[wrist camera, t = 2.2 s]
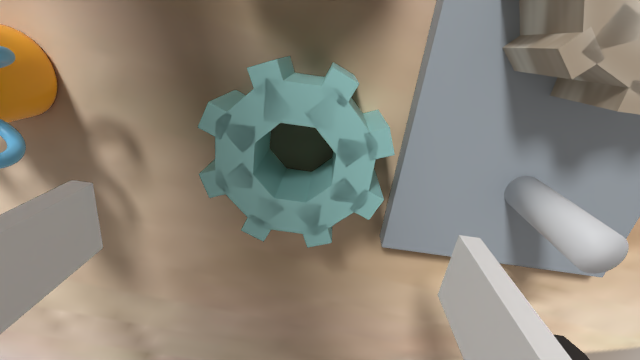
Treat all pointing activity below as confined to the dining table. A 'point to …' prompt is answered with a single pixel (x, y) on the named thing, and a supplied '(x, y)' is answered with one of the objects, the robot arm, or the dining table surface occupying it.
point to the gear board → (509, 156)
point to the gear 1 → (289, 184)
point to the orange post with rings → (22, 88)
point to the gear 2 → (582, 49)
